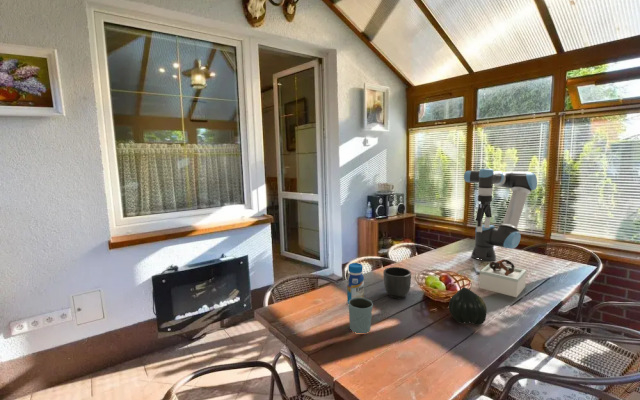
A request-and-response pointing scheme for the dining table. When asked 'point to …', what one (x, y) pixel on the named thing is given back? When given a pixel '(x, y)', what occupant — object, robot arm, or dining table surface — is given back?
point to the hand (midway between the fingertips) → (483, 229)
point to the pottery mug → (502, 266)
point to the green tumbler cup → (360, 314)
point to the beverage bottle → (355, 282)
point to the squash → (467, 307)
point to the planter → (397, 281)
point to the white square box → (503, 280)
